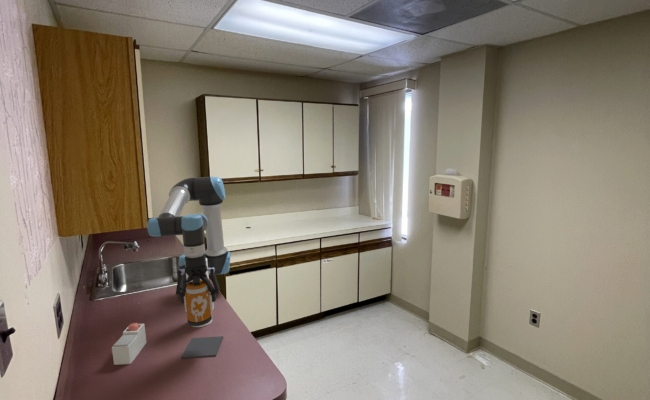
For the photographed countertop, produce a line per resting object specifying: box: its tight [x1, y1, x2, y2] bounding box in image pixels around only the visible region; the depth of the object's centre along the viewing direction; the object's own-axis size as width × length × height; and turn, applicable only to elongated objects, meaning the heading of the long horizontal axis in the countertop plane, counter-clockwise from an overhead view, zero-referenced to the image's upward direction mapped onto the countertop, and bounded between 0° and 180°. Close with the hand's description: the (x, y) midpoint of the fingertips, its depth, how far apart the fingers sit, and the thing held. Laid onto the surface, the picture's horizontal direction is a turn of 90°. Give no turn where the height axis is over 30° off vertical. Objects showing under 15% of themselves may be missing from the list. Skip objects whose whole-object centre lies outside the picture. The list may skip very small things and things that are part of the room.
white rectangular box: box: [111, 323, 147, 366], centre depth 136 cm, size 14×6×8 cm, turn 4°
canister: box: [185, 275, 213, 327], centre depth 135 cm, size 9×11×20 cm
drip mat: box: [180, 335, 224, 359], centre depth 139 cm, size 13×13×1 cm
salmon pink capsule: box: [127, 322, 140, 331], centre depth 139 cm, size 4×4×8 cm
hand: (199, 309), depth 136 cm, fingers closed on canister, 9 cm apart
